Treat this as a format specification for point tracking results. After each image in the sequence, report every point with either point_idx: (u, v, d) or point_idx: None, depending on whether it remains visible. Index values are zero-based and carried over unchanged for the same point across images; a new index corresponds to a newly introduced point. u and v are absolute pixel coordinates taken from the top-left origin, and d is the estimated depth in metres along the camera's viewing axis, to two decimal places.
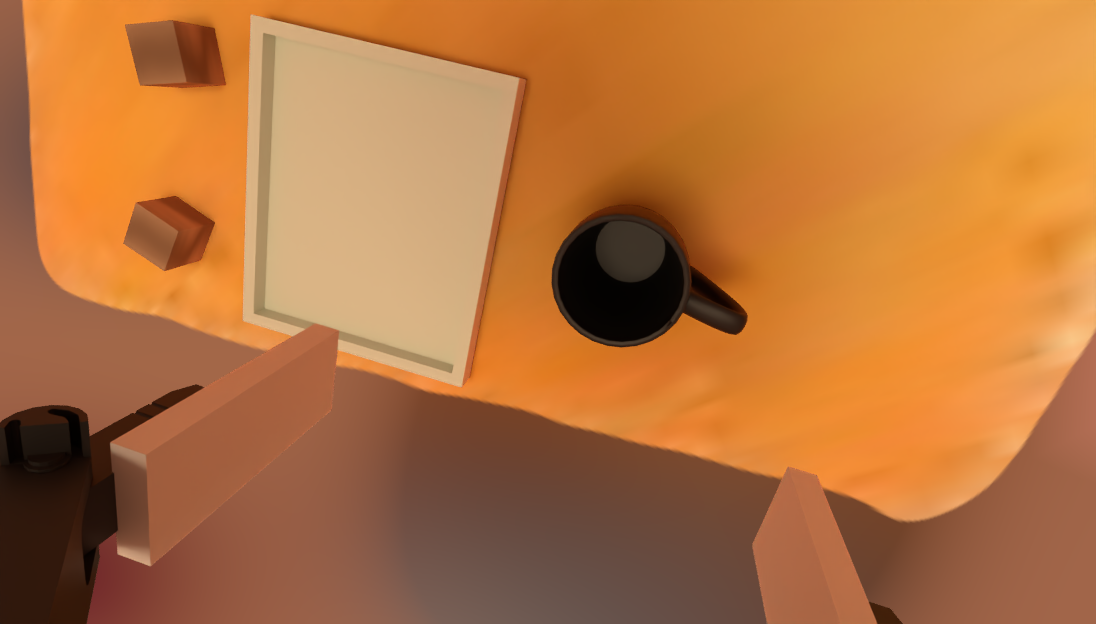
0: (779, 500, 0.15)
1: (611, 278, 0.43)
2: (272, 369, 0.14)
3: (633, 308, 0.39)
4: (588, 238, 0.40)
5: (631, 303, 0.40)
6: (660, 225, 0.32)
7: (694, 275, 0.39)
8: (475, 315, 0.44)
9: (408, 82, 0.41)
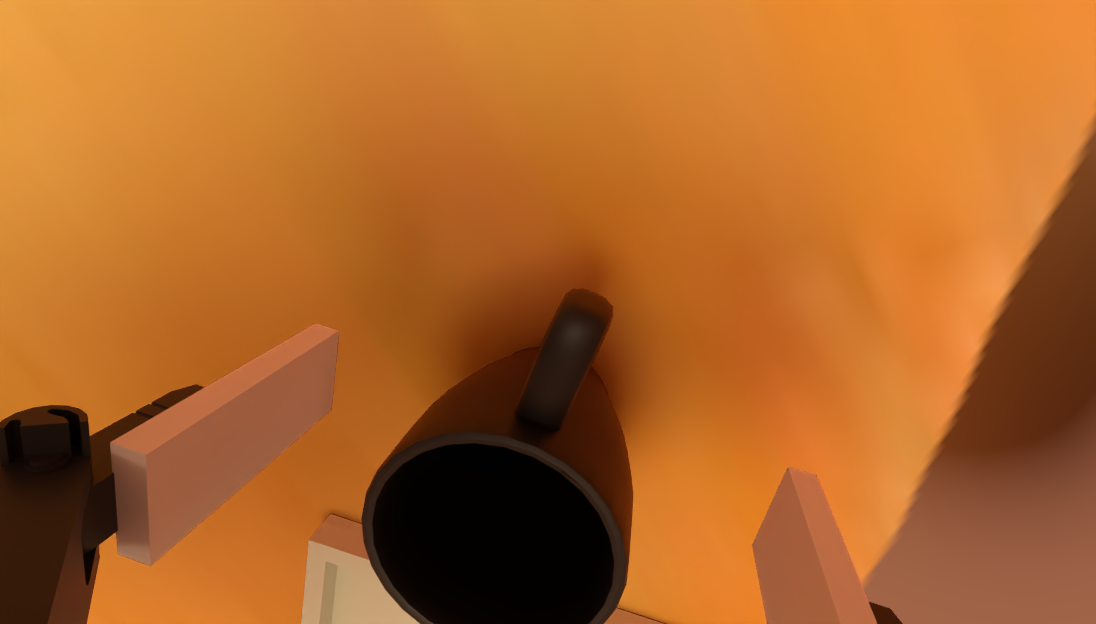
0: (779, 501, 0.15)
1: None
2: (272, 369, 0.14)
3: None
4: (509, 487, 0.24)
5: None
6: (376, 474, 0.17)
7: None
8: None
9: None
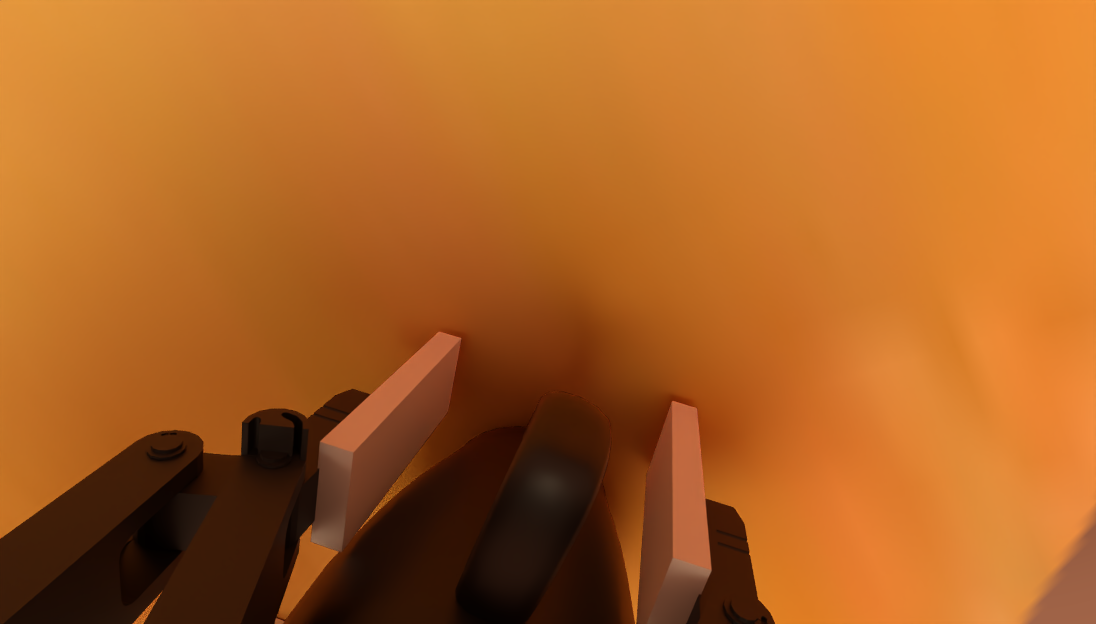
0: (664, 430, 0.17)
1: None
2: (421, 375, 0.15)
3: None
4: None
5: None
6: None
7: None
8: None
9: None
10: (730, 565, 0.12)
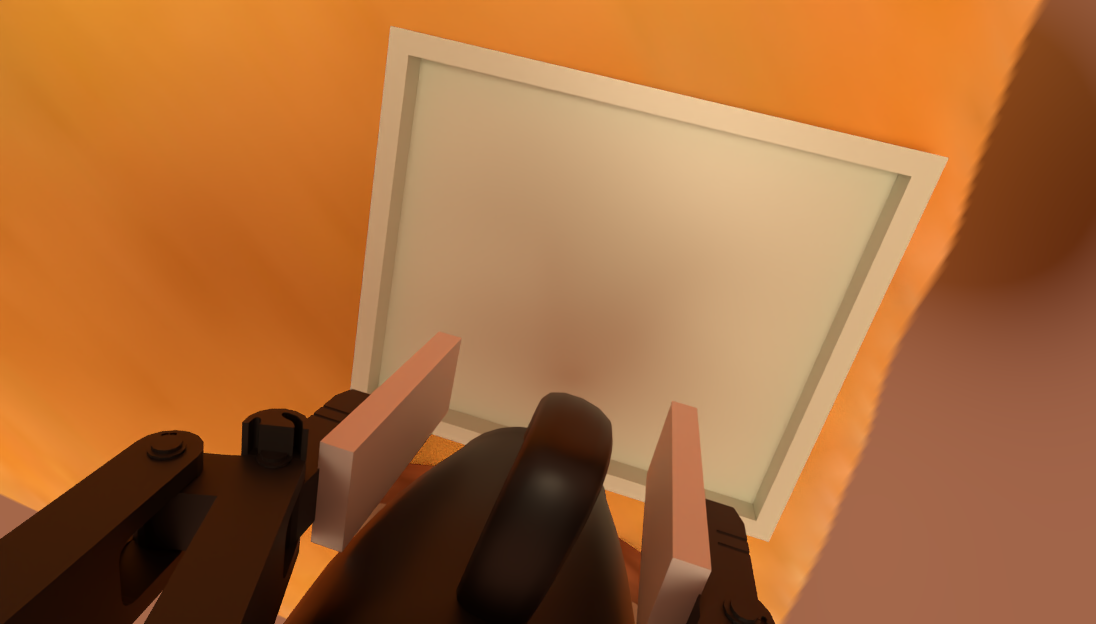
0: (664, 430, 0.17)
1: None
2: (421, 375, 0.15)
3: None
4: None
5: None
6: None
7: None
8: (785, 119, 0.24)
9: (419, 214, 0.29)
10: (730, 565, 0.12)
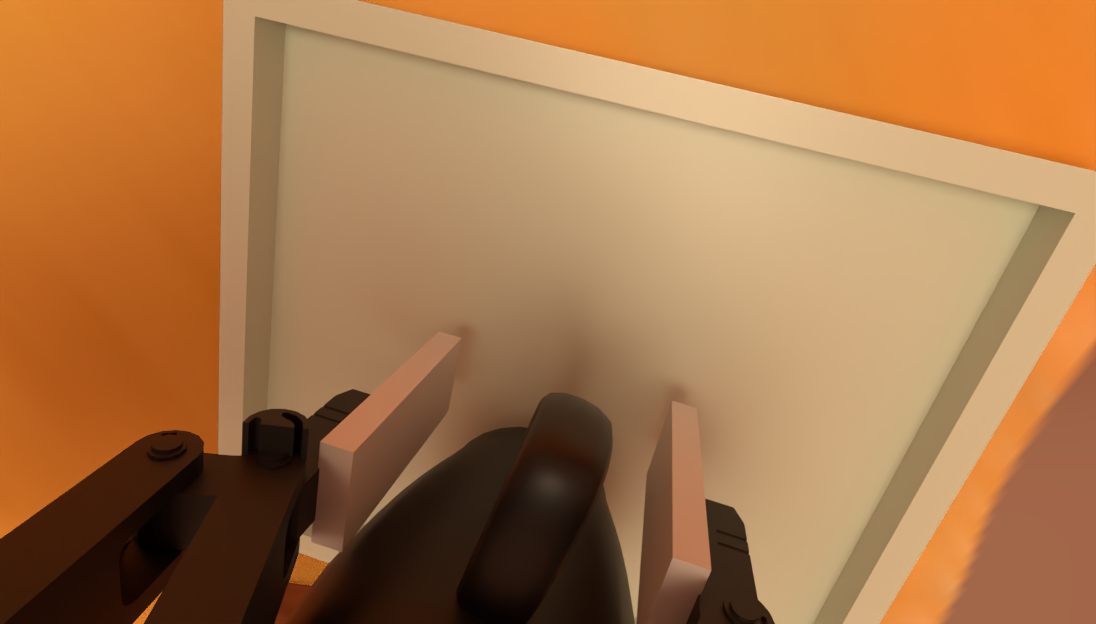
0: (664, 430, 0.17)
1: None
2: (421, 375, 0.15)
3: None
4: None
5: None
6: None
7: None
8: (861, 117, 0.14)
9: (299, 258, 0.20)
10: (730, 565, 0.12)
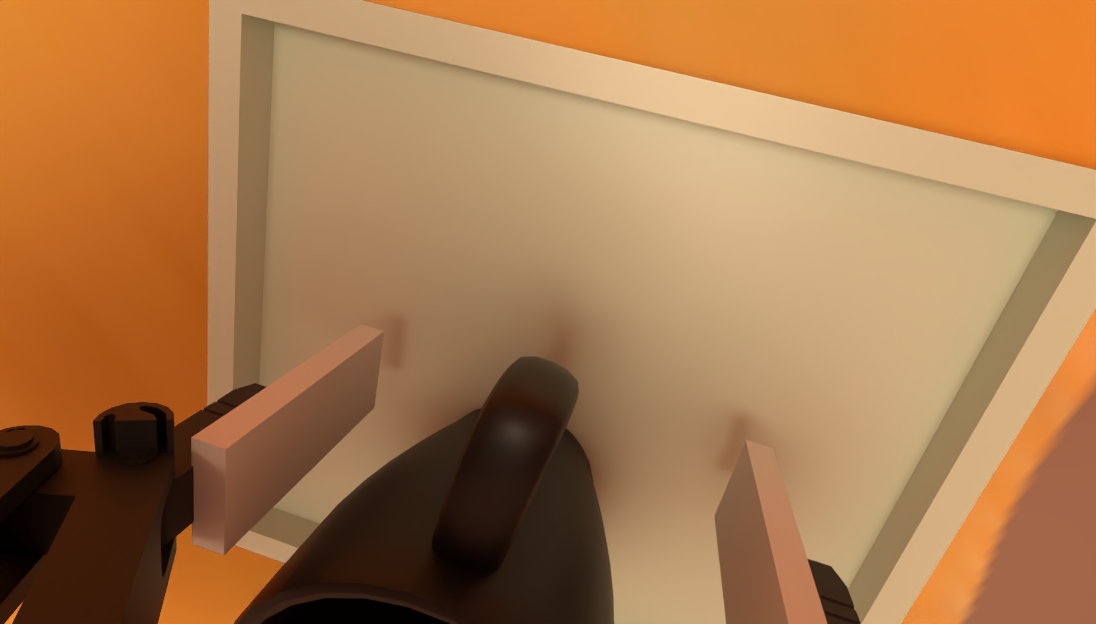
0: (737, 472, 0.16)
1: None
2: (328, 368, 0.14)
3: None
4: None
5: None
6: None
7: None
8: (871, 119, 0.14)
9: (290, 262, 0.19)
10: None
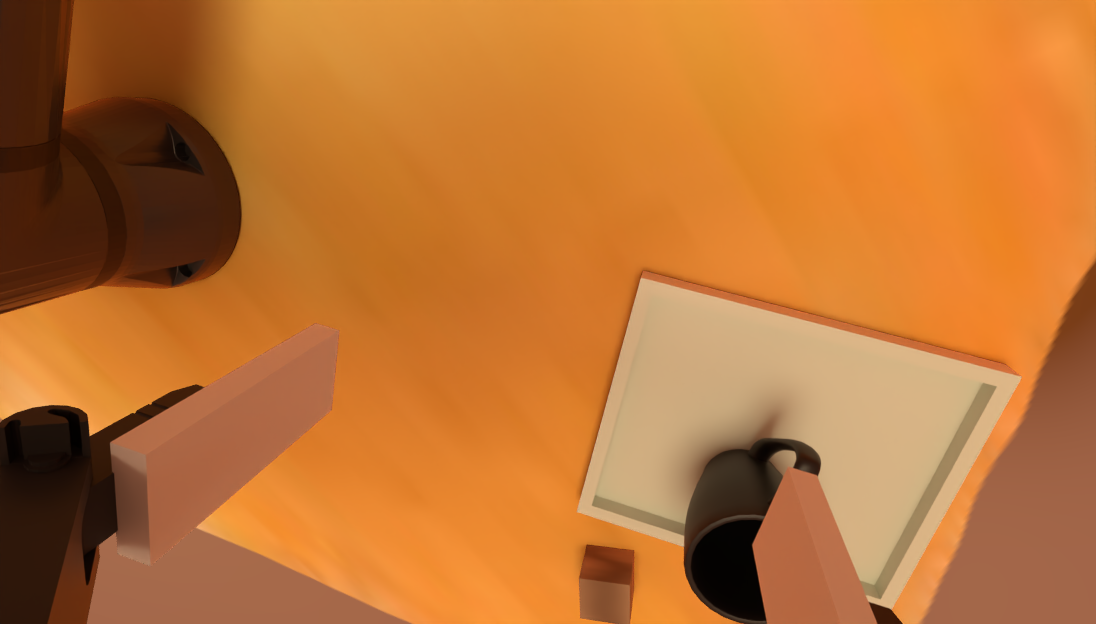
0: (779, 500, 0.15)
1: None
2: (272, 369, 0.14)
3: None
4: (723, 532, 0.42)
5: None
6: (696, 532, 0.34)
7: (766, 446, 0.39)
8: (911, 347, 0.36)
9: (639, 384, 0.42)
10: None
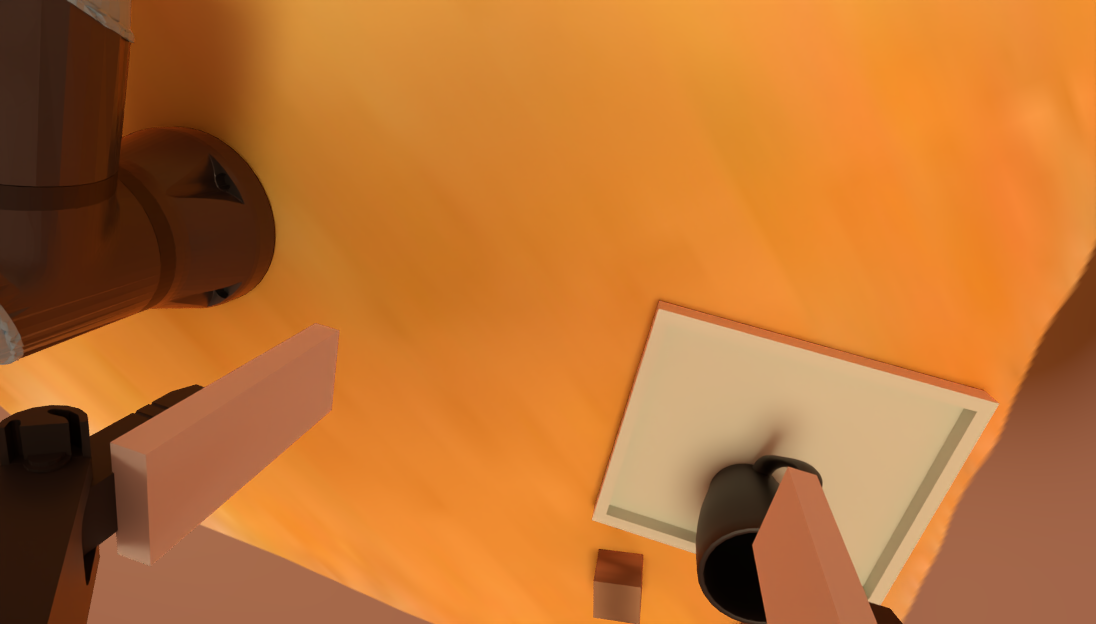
0: (779, 501, 0.15)
1: None
2: (272, 369, 0.14)
3: None
4: (728, 539, 0.46)
5: None
6: (709, 543, 0.38)
7: (770, 462, 0.43)
8: (902, 376, 0.40)
9: (653, 404, 0.46)
10: None
